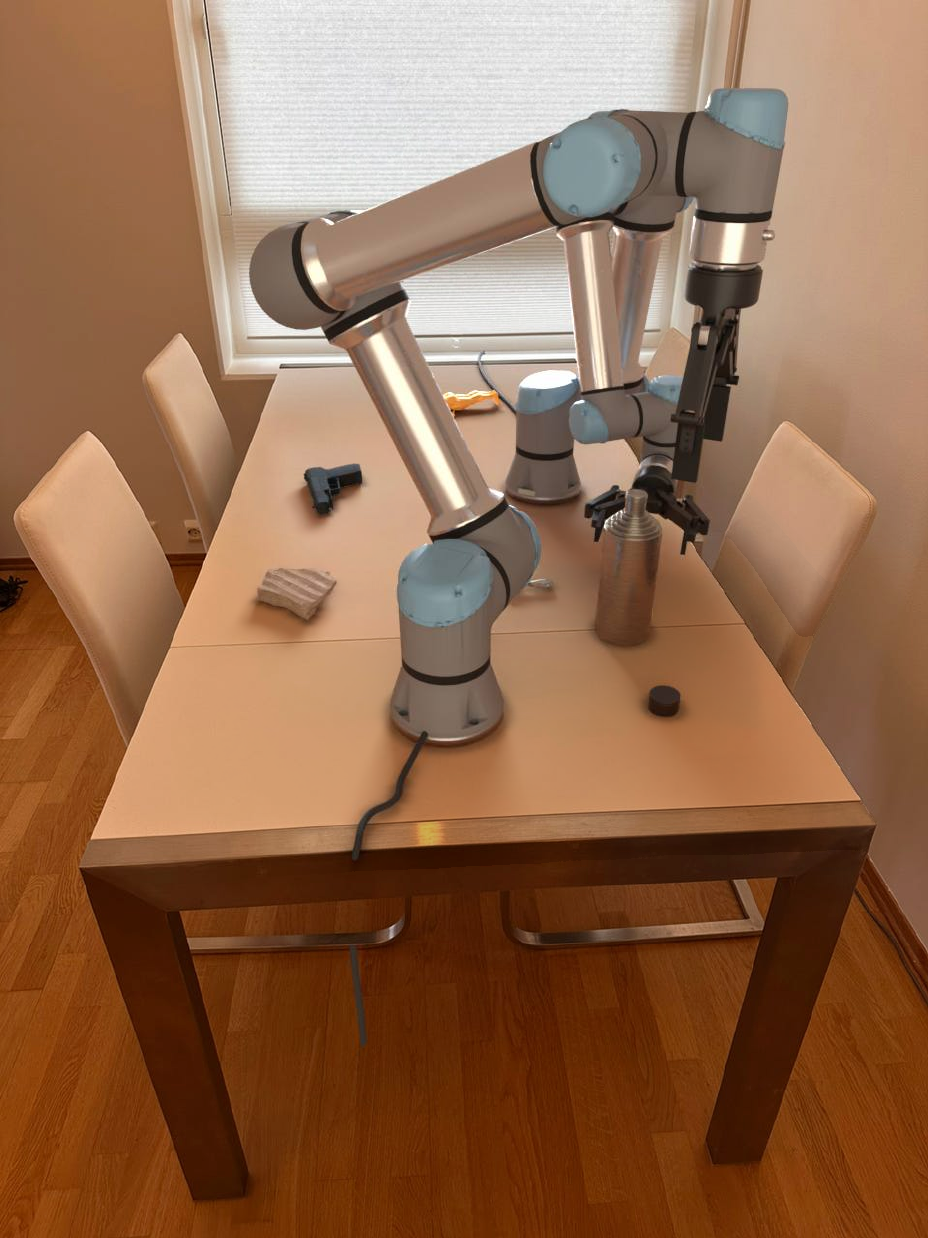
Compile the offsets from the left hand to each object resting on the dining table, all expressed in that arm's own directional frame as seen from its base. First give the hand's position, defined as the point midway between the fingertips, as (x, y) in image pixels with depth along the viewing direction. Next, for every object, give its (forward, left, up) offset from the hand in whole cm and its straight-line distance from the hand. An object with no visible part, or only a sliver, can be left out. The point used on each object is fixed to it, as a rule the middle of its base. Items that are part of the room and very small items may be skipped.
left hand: (698, 458), depth 103 cm
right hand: (+28, +5, -25) cm, 38 cm away
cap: (0, 0, -34) cm, 34 cm away
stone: (+17, +60, -36) cm, 72 cm away
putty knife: (+28, +23, -36) cm, 51 cm away
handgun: (+58, +67, -36) cm, 95 cm away
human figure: (+114, +56, -36) cm, 131 cm away
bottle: (+18, +7, -36) cm, 41 cm away
